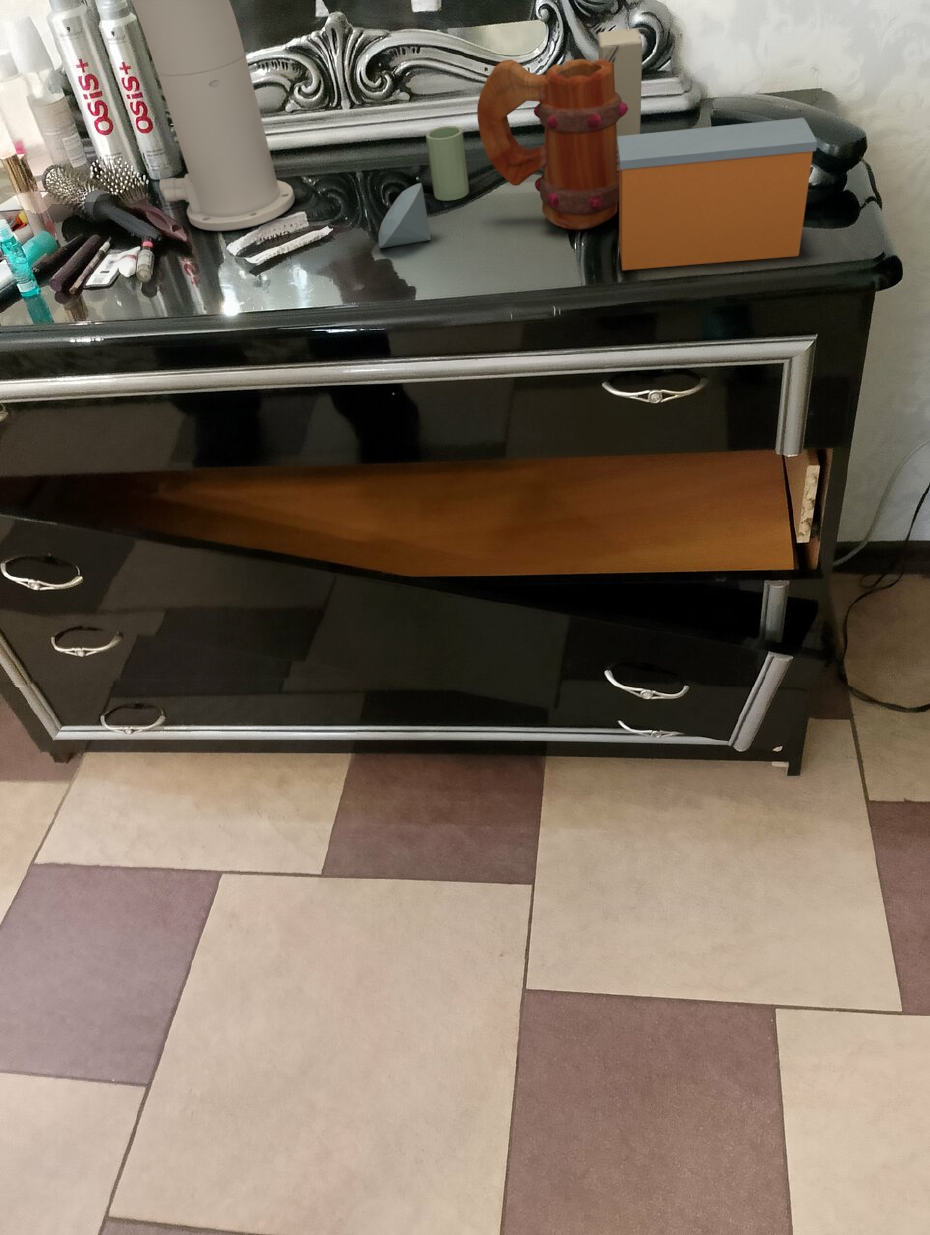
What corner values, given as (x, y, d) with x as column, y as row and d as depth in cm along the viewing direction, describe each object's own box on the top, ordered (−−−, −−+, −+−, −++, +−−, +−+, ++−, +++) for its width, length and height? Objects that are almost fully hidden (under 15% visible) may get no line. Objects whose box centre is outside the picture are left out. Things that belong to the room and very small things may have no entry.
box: (598, 157, 109) (596, 31, 100) (637, 153, 108) (638, 26, 99) (601, 174, 105) (599, 44, 96) (641, 170, 104) (643, 39, 95)
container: (620, 271, 88) (619, 160, 81) (617, 244, 92) (616, 136, 85) (801, 257, 86) (817, 141, 79) (790, 229, 90) (804, 117, 83)
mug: (634, 203, 98) (635, 41, 88) (622, 237, 93) (621, 68, 82) (499, 205, 102) (485, 50, 92) (480, 237, 97) (463, 76, 86)
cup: (432, 202, 105) (424, 140, 100) (436, 188, 108) (427, 128, 103) (468, 198, 105) (461, 137, 100) (470, 185, 107) (463, 124, 103)
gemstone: (459, 194, 97) (420, 162, 95) (442, 235, 93) (401, 202, 91) (420, 243, 103) (382, 214, 101) (402, 284, 98) (363, 255, 97)
